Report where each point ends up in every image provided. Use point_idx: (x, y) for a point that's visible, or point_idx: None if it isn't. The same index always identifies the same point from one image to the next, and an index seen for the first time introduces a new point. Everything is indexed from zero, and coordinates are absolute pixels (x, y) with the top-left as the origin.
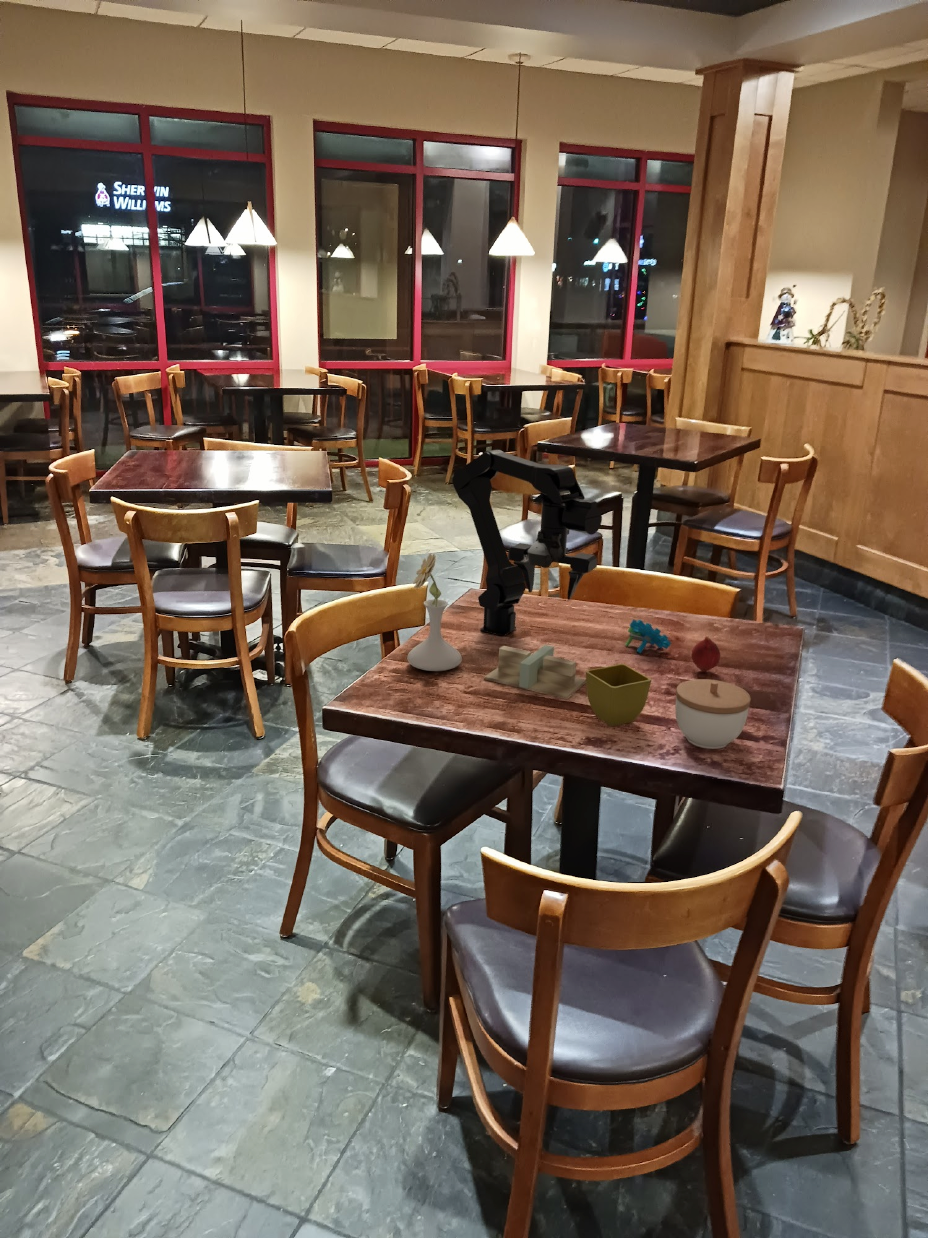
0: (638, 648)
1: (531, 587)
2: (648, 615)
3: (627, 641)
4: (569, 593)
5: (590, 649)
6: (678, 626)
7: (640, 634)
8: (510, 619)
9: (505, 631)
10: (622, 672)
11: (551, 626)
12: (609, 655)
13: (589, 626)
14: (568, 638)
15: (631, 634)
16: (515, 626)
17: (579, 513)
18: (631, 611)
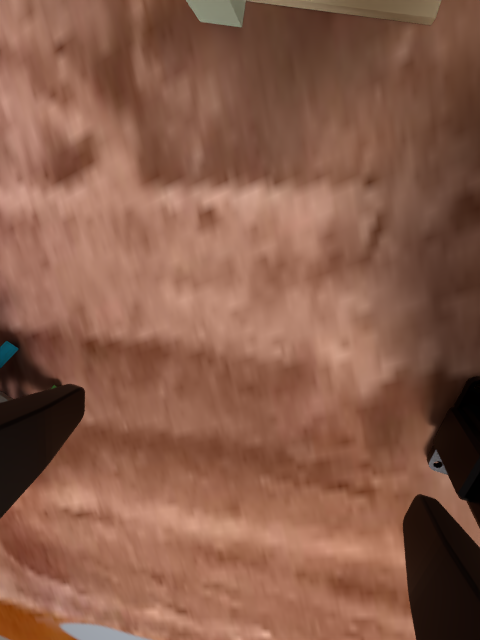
0: (6, 352)
1: (422, 546)
2: (84, 592)
3: None
4: (23, 402)
5: (140, 334)
6: (8, 536)
7: None
8: (474, 442)
9: (472, 405)
10: None
11: (301, 499)
12: (75, 300)
13: (192, 513)
14: (227, 411)
15: None
16: (431, 467)
17: None
18: (125, 612)
